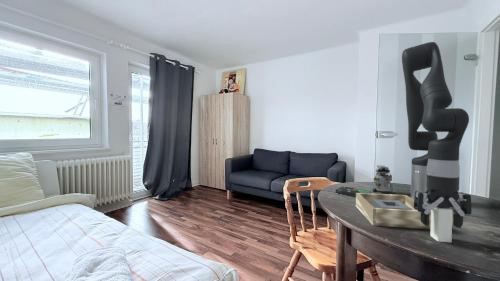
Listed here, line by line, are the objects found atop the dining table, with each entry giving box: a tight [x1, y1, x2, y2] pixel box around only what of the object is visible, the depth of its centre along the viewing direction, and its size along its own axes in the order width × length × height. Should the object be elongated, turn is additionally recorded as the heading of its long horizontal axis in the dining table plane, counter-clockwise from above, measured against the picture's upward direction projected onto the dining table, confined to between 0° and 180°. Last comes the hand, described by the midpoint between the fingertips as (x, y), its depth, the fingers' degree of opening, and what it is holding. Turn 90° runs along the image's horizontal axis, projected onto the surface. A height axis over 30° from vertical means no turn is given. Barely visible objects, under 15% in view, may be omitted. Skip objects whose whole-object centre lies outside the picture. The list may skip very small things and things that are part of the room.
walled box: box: [355, 193, 431, 230], centre depth 85 cm, size 20×20×6 cm
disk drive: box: [335, 186, 372, 198], centre depth 115 cm, size 10×3×15 cm
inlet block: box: [372, 199, 412, 210], centre depth 85 cm, size 10×10×4 cm
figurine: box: [372, 164, 394, 195], centre depth 116 cm, size 9×12×15 cm
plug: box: [429, 207, 454, 243], centre depth 67 cm, size 4×4×13 cm
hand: (440, 225), depth 67 cm, fingers open, 8 cm apart
